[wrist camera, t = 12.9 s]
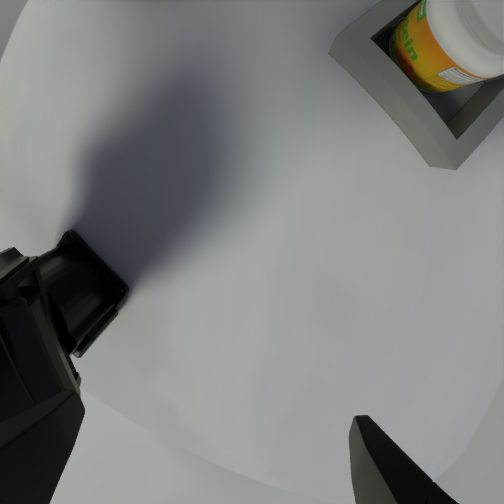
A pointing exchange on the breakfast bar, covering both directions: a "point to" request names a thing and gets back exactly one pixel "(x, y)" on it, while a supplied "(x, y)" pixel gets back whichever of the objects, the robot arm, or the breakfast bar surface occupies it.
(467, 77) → the supplement bottle
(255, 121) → the breakfast bar surface
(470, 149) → the grey square frame
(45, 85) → the breakfast bar surface
